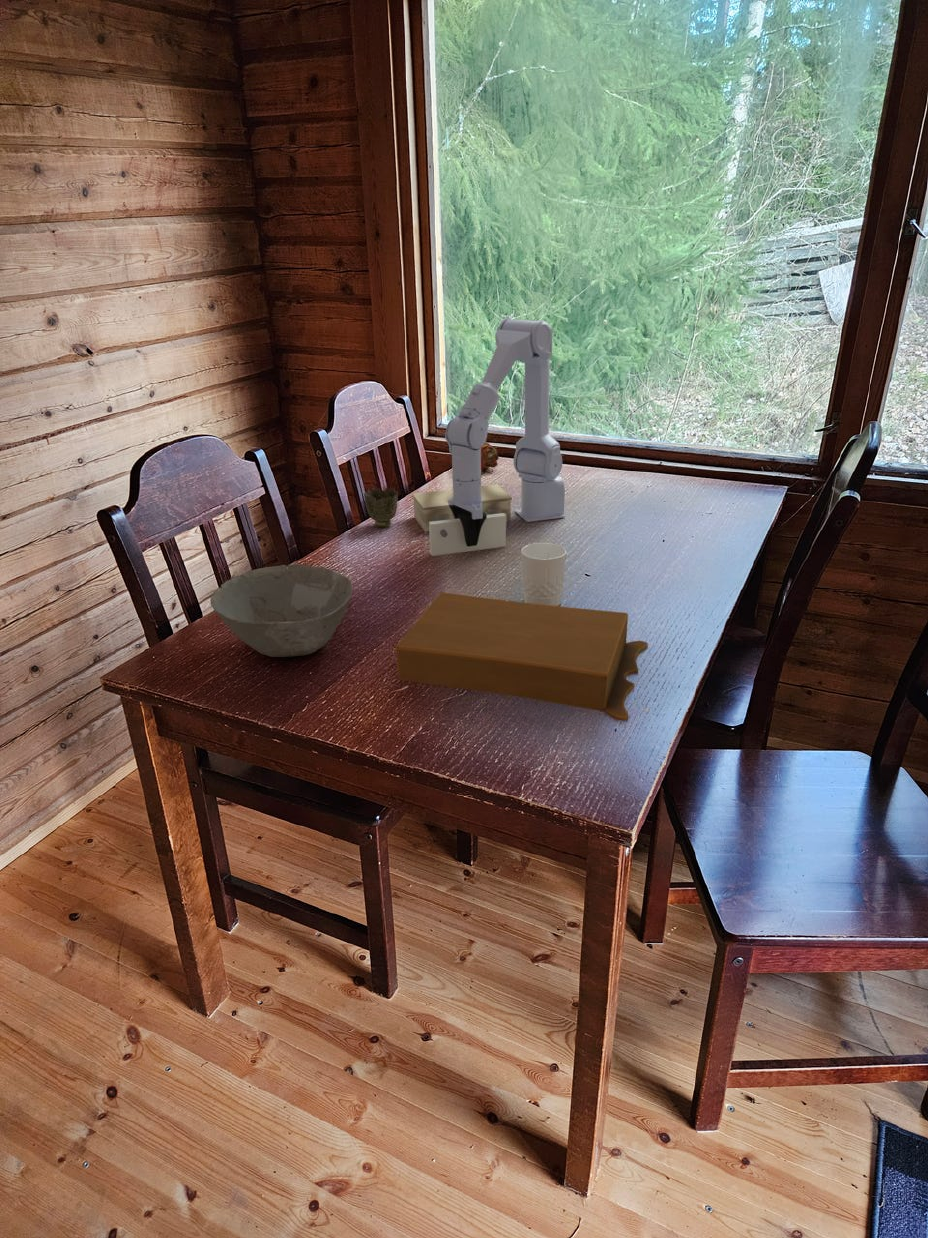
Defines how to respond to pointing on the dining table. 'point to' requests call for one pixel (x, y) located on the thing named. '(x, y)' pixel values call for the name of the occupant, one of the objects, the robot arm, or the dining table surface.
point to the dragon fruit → (488, 457)
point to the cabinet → (438, 509)
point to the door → (451, 537)
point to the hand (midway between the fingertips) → (468, 541)
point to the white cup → (543, 573)
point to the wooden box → (523, 651)
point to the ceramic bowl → (284, 607)
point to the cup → (381, 505)
